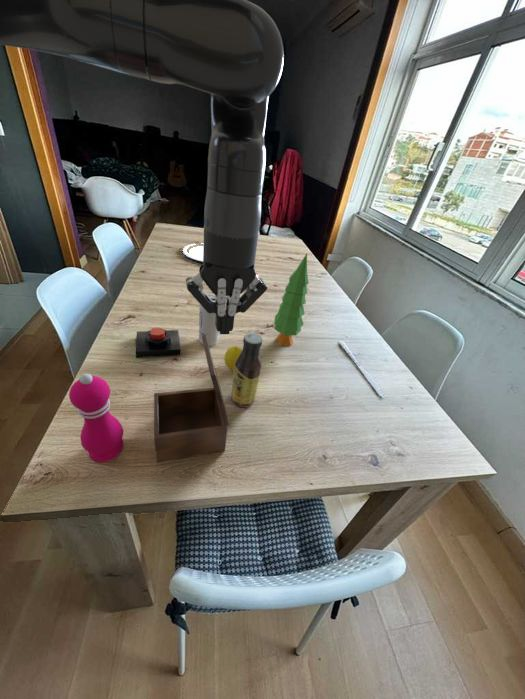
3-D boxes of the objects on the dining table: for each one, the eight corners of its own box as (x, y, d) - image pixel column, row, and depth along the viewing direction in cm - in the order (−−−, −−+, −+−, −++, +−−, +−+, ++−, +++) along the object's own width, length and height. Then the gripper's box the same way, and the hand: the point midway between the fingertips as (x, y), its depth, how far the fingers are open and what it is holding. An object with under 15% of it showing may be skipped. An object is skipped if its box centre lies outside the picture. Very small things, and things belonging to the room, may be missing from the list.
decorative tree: (300, 338, 102) (323, 253, 84) (294, 353, 94) (318, 263, 77) (273, 330, 103) (290, 245, 86) (266, 344, 96) (283, 254, 78)
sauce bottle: (228, 392, 76) (234, 328, 64) (251, 389, 78) (261, 327, 66) (233, 411, 71) (242, 346, 60) (258, 408, 73) (270, 344, 62)
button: (150, 340, 83) (149, 335, 82) (150, 332, 86) (149, 327, 85) (165, 339, 84) (164, 334, 83) (164, 332, 87) (164, 327, 86)
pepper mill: (87, 437, 60) (61, 363, 48) (125, 430, 63) (110, 358, 51) (84, 469, 55) (54, 394, 43) (126, 459, 58) (109, 387, 46)
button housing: (136, 358, 82) (134, 346, 79) (137, 337, 89) (136, 326, 87) (180, 355, 85) (180, 344, 83) (178, 335, 93) (178, 325, 90)
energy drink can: (197, 336, 94) (198, 294, 85) (216, 335, 96) (218, 294, 87) (200, 348, 89) (201, 304, 80) (220, 346, 91) (223, 304, 83)
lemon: (236, 361, 87) (239, 339, 82) (246, 372, 83) (249, 350, 79) (220, 366, 84) (221, 343, 79) (229, 378, 81) (231, 355, 76)
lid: (210, 375, 48) (215, 374, 48) (201, 335, 57) (205, 334, 57) (225, 427, 57) (229, 425, 57) (216, 385, 66) (219, 384, 66)
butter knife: (345, 340, 104) (338, 340, 103) (387, 396, 83) (378, 396, 82) (344, 341, 104) (337, 341, 103) (386, 397, 84) (377, 398, 83)
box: (157, 462, 58) (154, 438, 53) (156, 417, 67) (153, 393, 62) (224, 451, 62) (227, 428, 58) (216, 410, 71) (217, 386, 66)
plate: (246, 254, 163) (246, 250, 162) (225, 270, 140) (225, 267, 139) (198, 242, 168) (198, 239, 167) (170, 256, 144) (170, 252, 143)
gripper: (269, 223, 45) (254, 319, 55) (180, 215, 41) (182, 321, 51) (285, 238, 39) (266, 342, 50) (184, 232, 35) (185, 346, 45)
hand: (223, 331), depth 50 cm, fingers closed
